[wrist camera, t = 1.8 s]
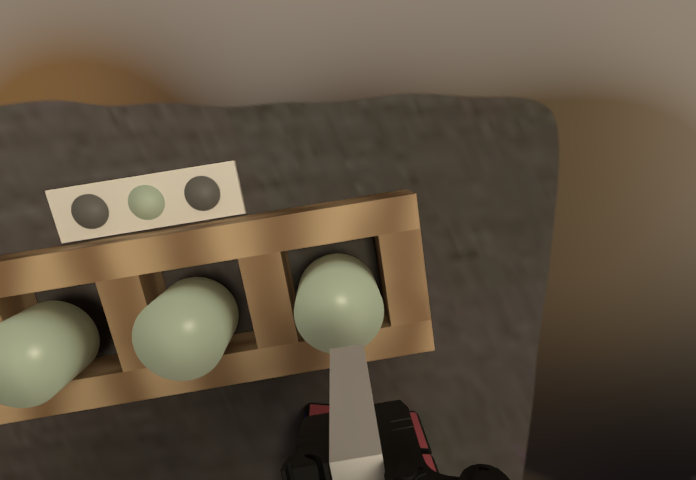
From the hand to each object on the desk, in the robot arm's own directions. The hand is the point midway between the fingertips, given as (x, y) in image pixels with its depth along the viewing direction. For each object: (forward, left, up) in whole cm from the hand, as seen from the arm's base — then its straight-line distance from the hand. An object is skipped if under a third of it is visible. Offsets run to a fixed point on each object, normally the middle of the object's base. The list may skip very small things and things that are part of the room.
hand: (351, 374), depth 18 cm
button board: (-10, 0, -15) cm, 18 cm away
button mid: (-10, 0, -11) cm, 15 cm away
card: (-13, +8, -15) cm, 22 cm away
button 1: (0, 0, -11) cm, 11 cm away
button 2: (-20, 0, -11) cm, 23 cm away
